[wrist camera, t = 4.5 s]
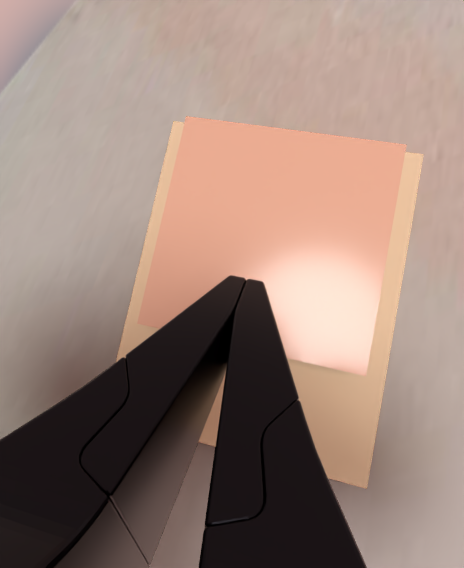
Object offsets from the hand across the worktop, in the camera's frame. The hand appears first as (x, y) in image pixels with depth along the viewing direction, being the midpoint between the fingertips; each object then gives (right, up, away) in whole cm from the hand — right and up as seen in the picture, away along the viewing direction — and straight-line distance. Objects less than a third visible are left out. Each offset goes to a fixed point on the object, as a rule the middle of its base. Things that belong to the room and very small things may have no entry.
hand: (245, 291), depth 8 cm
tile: (0, -3, +7) cm, 7 cm away
